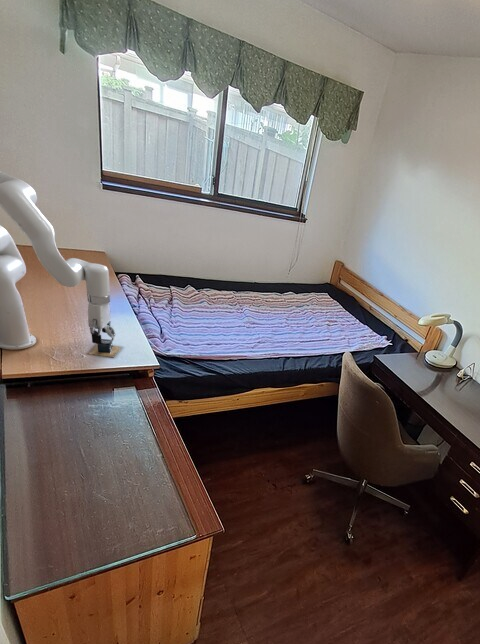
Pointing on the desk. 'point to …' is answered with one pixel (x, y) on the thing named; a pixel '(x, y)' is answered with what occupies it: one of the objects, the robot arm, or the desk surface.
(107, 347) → the watch
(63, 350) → the desk surface
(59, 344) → the desk surface
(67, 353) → the desk surface
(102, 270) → the robot arm
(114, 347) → the brown wooden square tile
